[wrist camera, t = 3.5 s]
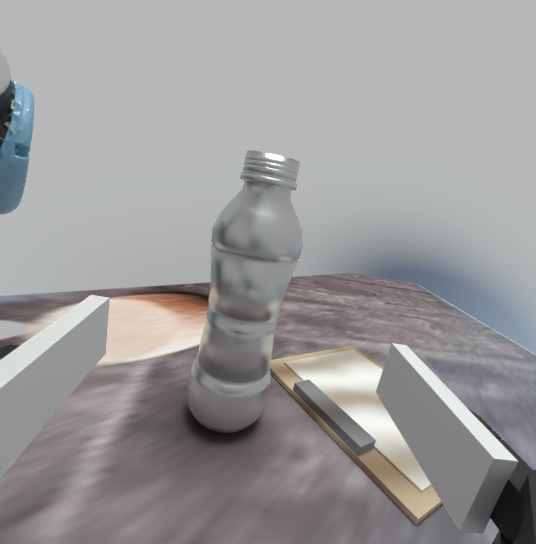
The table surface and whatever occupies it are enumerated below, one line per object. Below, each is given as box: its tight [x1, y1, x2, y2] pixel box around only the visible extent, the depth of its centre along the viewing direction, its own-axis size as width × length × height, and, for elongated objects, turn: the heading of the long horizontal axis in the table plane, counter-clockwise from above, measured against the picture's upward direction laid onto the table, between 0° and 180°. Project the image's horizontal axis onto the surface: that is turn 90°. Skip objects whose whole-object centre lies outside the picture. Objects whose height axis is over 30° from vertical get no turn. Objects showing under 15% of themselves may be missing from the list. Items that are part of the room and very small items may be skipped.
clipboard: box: [270, 346, 443, 525], centre depth 31 cm, size 18×14×1 cm
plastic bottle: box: [187, 151, 303, 433], centre depth 23 cm, size 6×7×20 cm
